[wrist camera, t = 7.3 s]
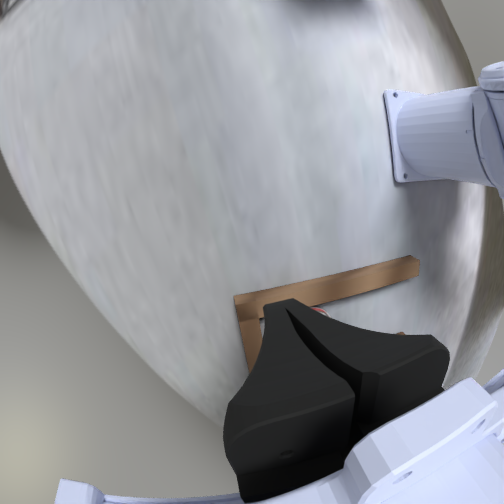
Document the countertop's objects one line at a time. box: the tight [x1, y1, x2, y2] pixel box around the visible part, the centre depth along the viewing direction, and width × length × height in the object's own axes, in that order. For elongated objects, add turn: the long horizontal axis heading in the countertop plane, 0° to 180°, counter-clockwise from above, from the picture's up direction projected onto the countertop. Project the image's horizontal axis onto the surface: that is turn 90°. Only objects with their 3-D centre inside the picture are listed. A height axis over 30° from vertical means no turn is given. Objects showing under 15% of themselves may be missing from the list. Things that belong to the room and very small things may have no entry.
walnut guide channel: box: [234, 255, 420, 373], centre depth 23 cm, size 16×10×2 cm, turn 98°
